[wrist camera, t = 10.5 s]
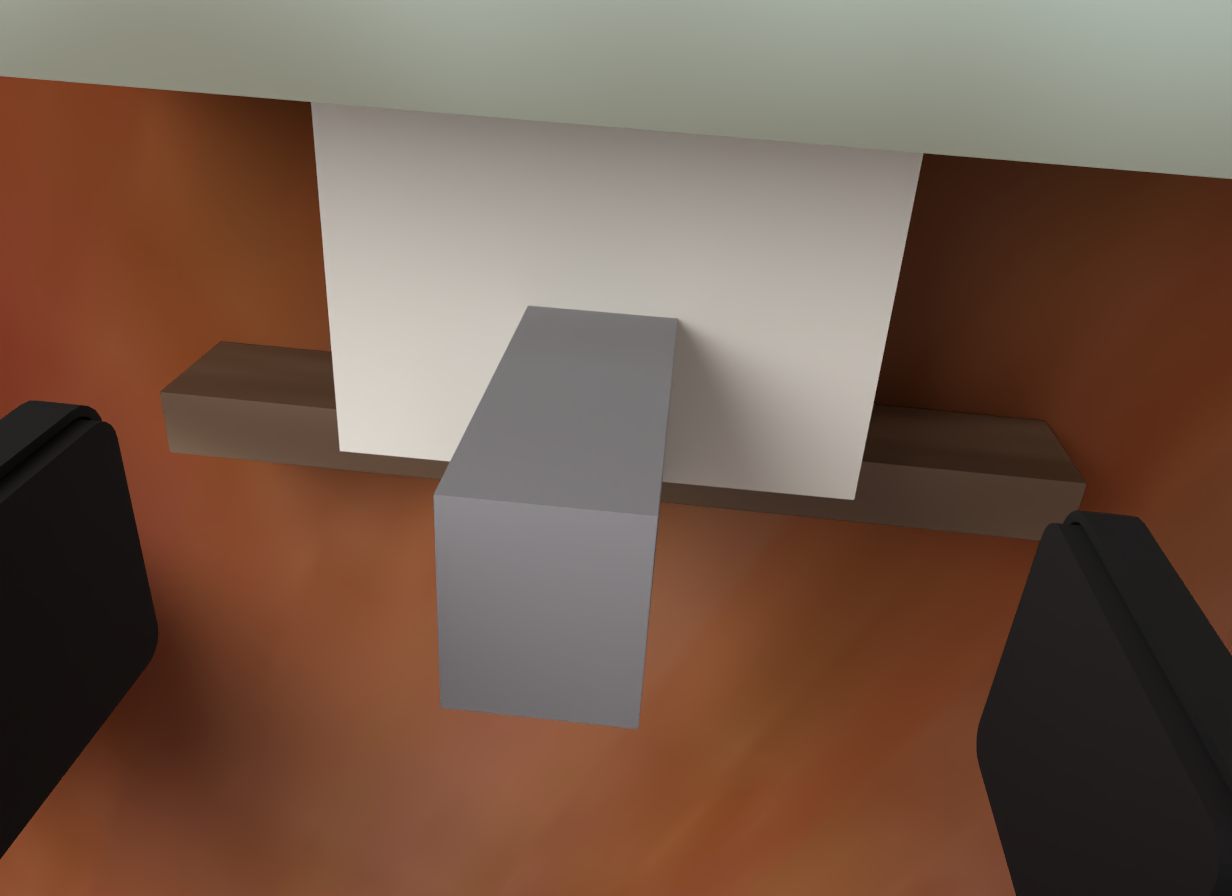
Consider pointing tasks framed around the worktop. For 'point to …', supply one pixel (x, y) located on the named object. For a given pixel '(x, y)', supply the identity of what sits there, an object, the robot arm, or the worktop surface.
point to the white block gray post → (594, 359)
